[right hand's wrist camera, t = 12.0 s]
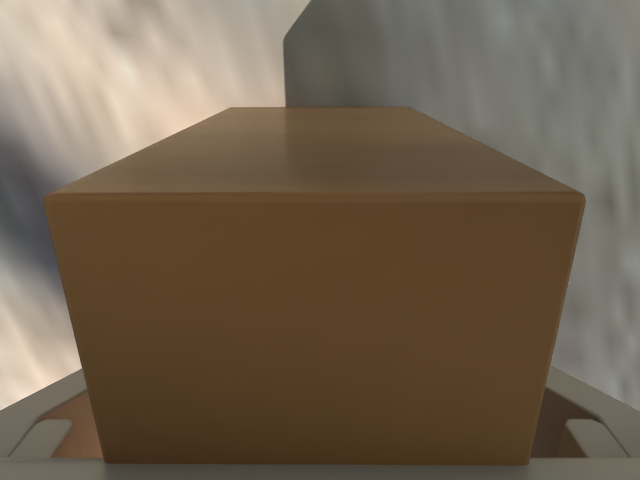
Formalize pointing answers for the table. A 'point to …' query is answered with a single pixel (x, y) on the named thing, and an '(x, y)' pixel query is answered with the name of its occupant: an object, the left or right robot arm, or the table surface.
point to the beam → (315, 291)
